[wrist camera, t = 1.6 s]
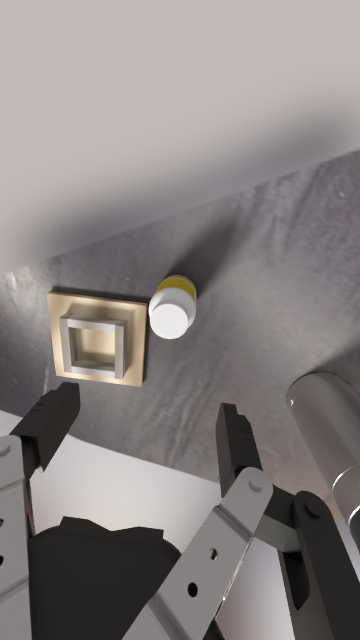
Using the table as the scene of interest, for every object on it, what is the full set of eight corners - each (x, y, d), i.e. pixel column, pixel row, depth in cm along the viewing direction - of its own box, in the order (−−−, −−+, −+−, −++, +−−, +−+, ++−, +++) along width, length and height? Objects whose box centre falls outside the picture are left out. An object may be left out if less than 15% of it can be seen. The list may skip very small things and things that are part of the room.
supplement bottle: (154, 276, 32) (138, 299, 23) (194, 271, 32) (193, 293, 23) (160, 313, 34) (148, 347, 25) (198, 309, 34) (199, 342, 25)
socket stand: (147, 303, 34) (143, 311, 31) (142, 382, 39) (138, 395, 36) (50, 291, 34) (37, 297, 31) (59, 371, 39) (49, 383, 37)
